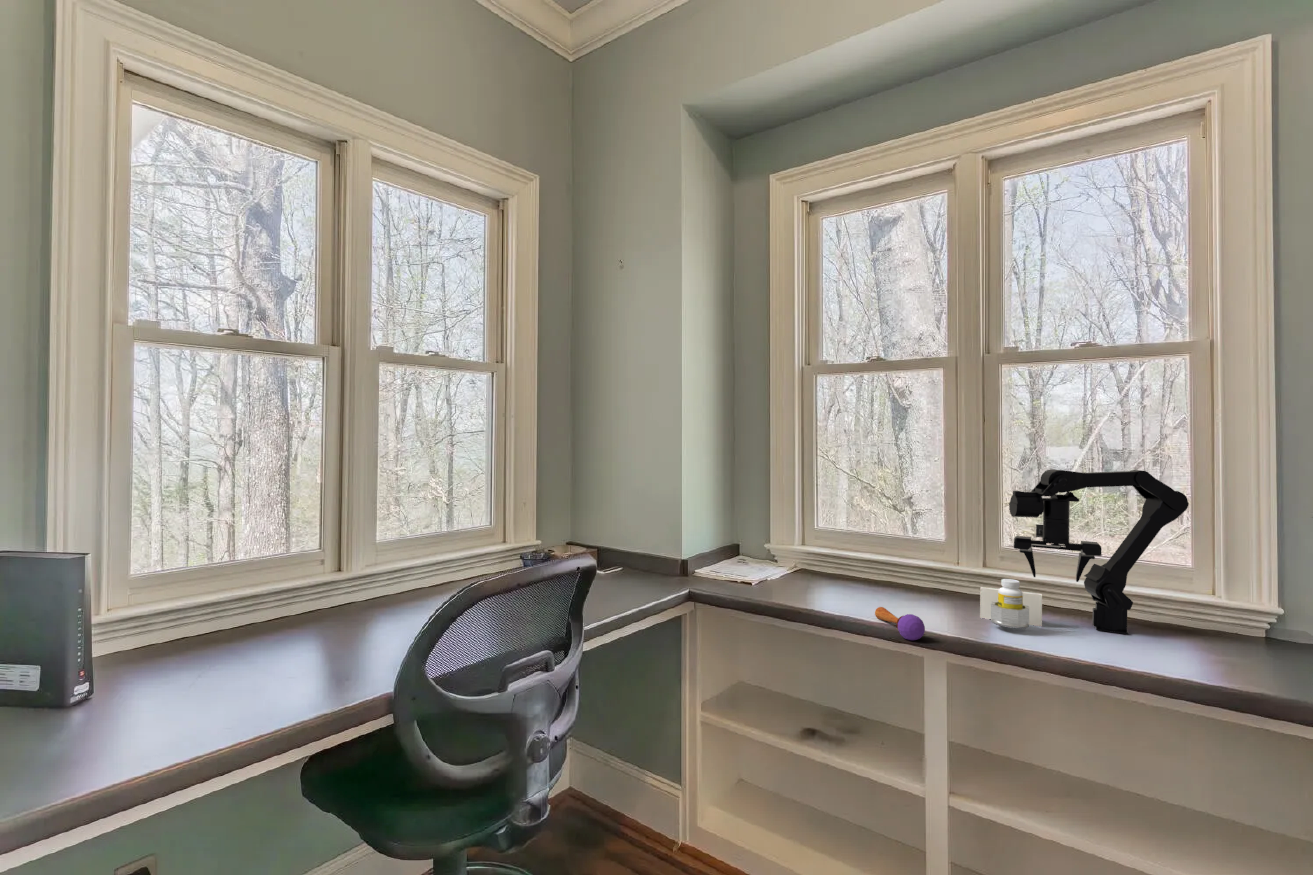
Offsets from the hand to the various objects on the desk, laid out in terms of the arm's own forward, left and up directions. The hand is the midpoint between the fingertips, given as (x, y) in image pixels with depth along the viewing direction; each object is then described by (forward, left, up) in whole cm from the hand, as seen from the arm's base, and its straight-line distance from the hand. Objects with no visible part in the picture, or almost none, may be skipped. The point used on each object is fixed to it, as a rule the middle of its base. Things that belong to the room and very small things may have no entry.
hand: (1055, 579), depth 159 cm
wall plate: (+10, +2, -12) cm, 16 cm away
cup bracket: (+10, +8, -11) cm, 17 cm away
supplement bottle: (+10, +10, -10) cm, 17 cm away
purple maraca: (+34, +26, -12) cm, 44 cm away
